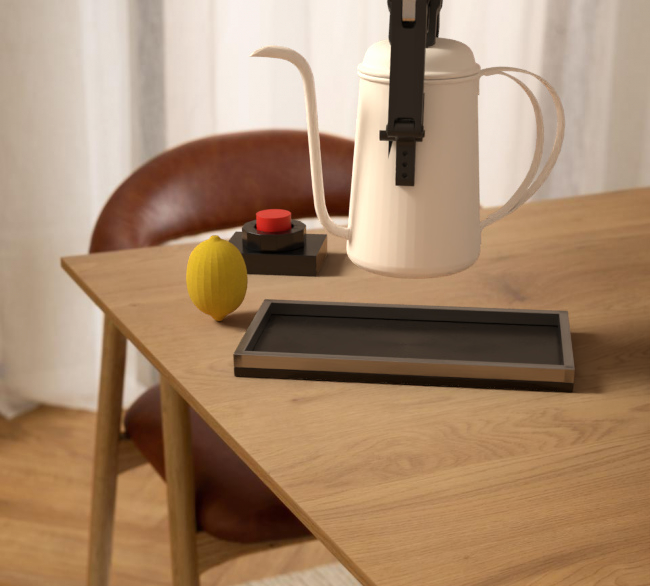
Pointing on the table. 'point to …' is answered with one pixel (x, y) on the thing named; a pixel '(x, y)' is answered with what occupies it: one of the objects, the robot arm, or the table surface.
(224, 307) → the lemon
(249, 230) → the button box
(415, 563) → the table surface
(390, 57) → the robot arm
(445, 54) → the coffeepot
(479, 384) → the drip pan
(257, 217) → the button
